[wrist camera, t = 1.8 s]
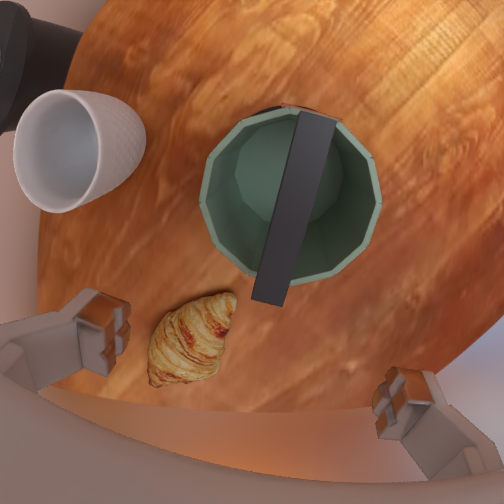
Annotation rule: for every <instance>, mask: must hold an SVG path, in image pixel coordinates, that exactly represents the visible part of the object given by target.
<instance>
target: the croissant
mask: <svg viewBox="0 0 504 504" xmlns="http://www.w3.org/2000/svg"><path fill="white" fill-rule="evenodd" d="M236 303H237V299H236V297H235V296H234V294H233V293H223V294H217V295H215V296H209V297H202V298H200V299H198V300H195V301H191V302H189V303H187V304H185V305H183V306H182V307H181V308H179V309H177V310H176V311H175V312H168V313H167V314H165V316H164V317H163V318H162V320H161V322H160V323H159V324H158V326H157V328H156V329H155V331H154V333H153V335H152V337H151V339H150V343H149V348H148V357H149V361H148V368H147V372H148V376H149V384H150V385H152V386H153V387H154V388H160V387H161V386H162V385H166V386H168V385H172V384H177V383H178V382H183V383H185V384H187V383H191V382H193V381H198V380H202V379H207V378H209V377H212V376H214V375H215V374H216V373H217V372H218V369H219V366H220V357H221V356H222V354H223V353H224V351H225V348H224V339H225V337H226V335H227V333H228V331H229V329H230V322H231V317H230V315H232V314H233V313H234V312H235V310H236V309H235V307H236Z"/></svg>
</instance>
